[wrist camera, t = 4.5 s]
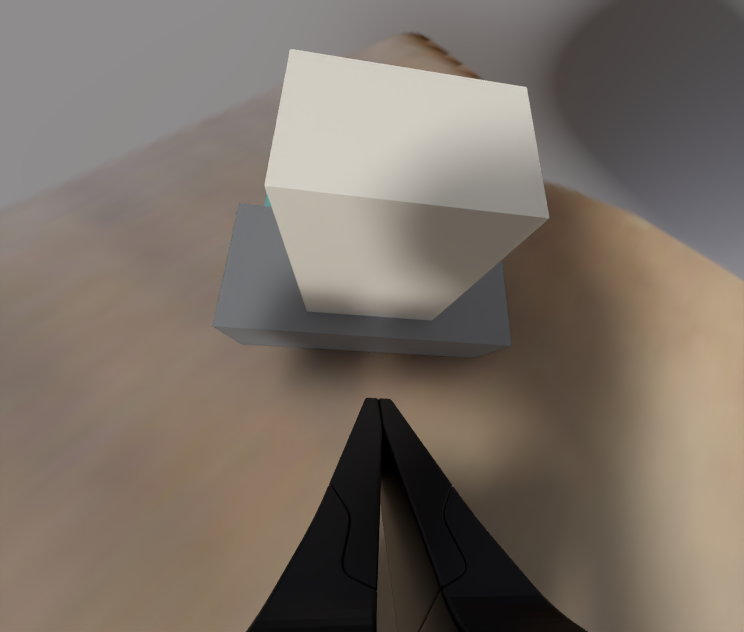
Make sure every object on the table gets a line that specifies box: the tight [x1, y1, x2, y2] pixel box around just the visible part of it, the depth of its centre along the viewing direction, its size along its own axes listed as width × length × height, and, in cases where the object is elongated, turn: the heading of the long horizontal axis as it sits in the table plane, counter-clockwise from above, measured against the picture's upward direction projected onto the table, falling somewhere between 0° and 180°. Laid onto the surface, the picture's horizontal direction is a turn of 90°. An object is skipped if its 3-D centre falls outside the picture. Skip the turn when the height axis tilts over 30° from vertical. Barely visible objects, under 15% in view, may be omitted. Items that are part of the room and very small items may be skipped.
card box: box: [265, 49, 549, 321], centre depth 10 cm, size 4×6×8 cm, turn 88°
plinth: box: [212, 203, 512, 358], centre depth 16 cm, size 6×14×4 cm, turn 88°
